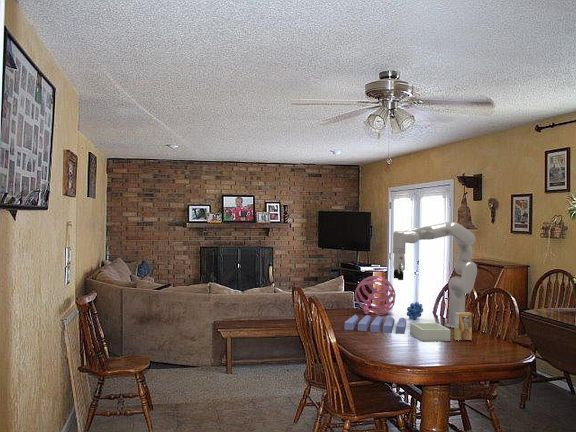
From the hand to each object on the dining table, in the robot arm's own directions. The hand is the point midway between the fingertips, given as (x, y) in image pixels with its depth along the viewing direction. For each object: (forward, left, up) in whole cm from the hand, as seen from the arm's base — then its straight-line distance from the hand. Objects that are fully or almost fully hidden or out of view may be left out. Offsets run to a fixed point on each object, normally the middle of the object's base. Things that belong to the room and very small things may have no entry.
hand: (398, 279), depth 346 cm
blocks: (+12, -4, -31) cm, 33 cm away
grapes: (-21, -31, -30) cm, 48 cm away
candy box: (-27, +34, -30) cm, 53 cm away
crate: (-10, +28, -30) cm, 42 cm away
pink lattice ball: (0, -51, -30) cm, 59 cm away
